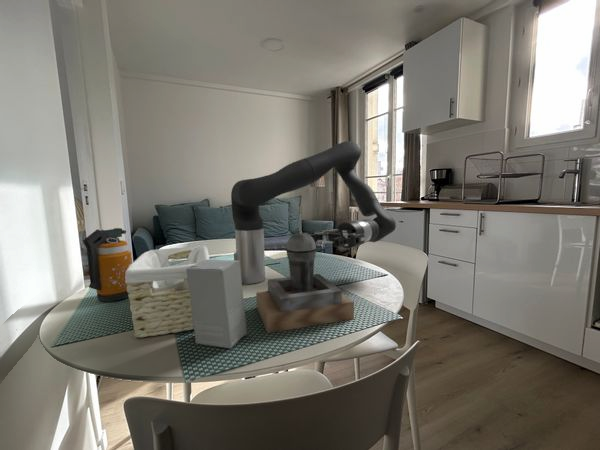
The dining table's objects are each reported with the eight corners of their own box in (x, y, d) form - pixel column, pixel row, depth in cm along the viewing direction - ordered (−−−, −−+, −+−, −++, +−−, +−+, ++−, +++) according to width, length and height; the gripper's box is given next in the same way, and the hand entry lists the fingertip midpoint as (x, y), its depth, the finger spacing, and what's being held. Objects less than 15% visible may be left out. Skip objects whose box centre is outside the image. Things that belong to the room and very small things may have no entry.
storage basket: (149, 301, 79) (144, 248, 77) (210, 293, 84) (208, 244, 82) (127, 344, 56) (120, 271, 54) (213, 330, 61) (210, 263, 59)
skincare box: (247, 334, 59) (244, 259, 57) (228, 352, 52) (223, 268, 51) (212, 328, 62) (208, 256, 60) (190, 345, 55) (184, 265, 53)
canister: (141, 294, 84) (135, 226, 82) (102, 308, 74) (94, 232, 72) (122, 290, 88) (115, 225, 86) (82, 303, 78) (74, 230, 76)
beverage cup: (317, 291, 72) (316, 212, 70) (316, 302, 65) (315, 214, 62) (289, 291, 73) (287, 212, 70) (285, 302, 66) (282, 215, 63)
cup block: (267, 333, 59) (266, 300, 59) (256, 307, 73) (255, 280, 72) (353, 318, 65) (353, 289, 64) (329, 297, 79) (329, 272, 78)
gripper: (334, 219, 89) (299, 224, 77) (376, 222, 79) (344, 228, 67) (334, 243, 90) (299, 252, 78) (376, 248, 80) (344, 259, 68)
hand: (320, 241), depth 72 cm, fingers open, 8 cm apart
